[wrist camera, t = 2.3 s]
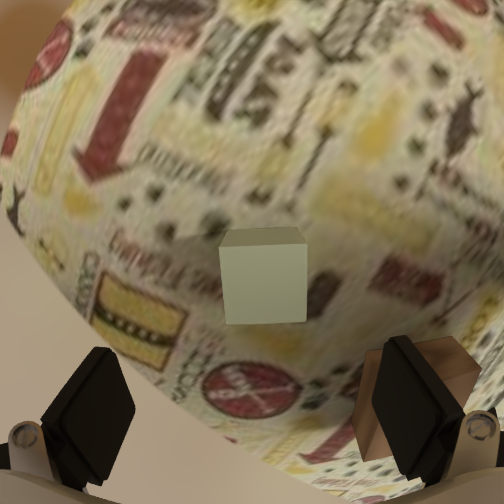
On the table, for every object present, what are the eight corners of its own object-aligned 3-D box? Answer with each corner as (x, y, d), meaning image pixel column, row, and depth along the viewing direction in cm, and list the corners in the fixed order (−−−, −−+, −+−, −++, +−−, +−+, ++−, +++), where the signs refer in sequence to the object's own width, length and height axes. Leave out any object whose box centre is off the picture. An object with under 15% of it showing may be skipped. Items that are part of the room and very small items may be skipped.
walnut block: (451, 335, 23) (481, 368, 18) (427, 404, 26) (446, 438, 20) (366, 351, 24) (388, 394, 18) (351, 421, 27) (363, 462, 21)
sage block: (296, 226, 21) (307, 243, 16) (297, 290, 22) (306, 321, 18) (228, 229, 21) (218, 247, 16) (232, 292, 23) (226, 324, 18)
